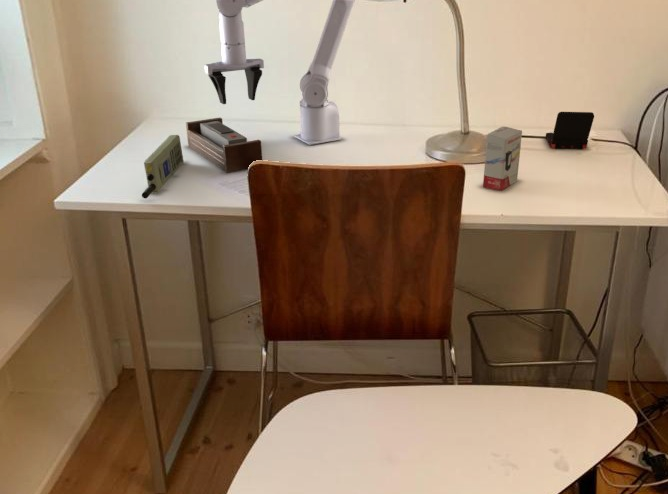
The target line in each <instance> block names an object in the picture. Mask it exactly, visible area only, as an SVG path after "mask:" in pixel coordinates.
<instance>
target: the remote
mask: <svg viewBox="0 0 668 494" xmlns="http://www.w3.org/2000/svg"><path fill="white" fill-rule="evenodd" d="M200 127H201V135H202V136H203V137H205V138H206V139H208V140H210V141H211V142H213V143H214V144H216V145H218V146H219V147H221V148H222V149H223V146H224V145H230V144H236V143H242V142H248V138H247V137H246V136H245V135H243V134H241V133H239V132H238V131H236V130H234V129H232V128H230V127H229V126H228V125H225V124H224V123H223V124H222V123H220V122H219V121H214V122H207V123H201V124H200Z"/></svg>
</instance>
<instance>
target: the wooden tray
mask: <svg viewBox="0 0 668 494" xmlns="http://www.w3.org/2000/svg"><path fill="white" fill-rule="evenodd" d="M214 121H219V122H220V123H222V124H224V123H223V118H222V117H214V118H207V119H199V120H194V121H186V122H185V129H186V136H187V146H188V148H189V149H191V150H192V151H194V152H196V153H197V154H198V155H200V156H201V157H203V158H204V159H206V160H207V161H209V162H210V163H212V164H213V165H214V166H216V167H218V168H219V169H220V170H222V171H224V172H225V173H226V174H228V173H235V172H240V171H246V170H249V169H248V167H249V165H250V164H251V163H252V162H253V161H256V160H262V161H263V149H262V146H263V145H262V140H260V139H254V140H247V142H242V143H236V144H230V145H224V146H223V149H222V148H221V147H219V146H218V145H216V144H214V143H213V142H211V141H210V140H208V139H206V138H205V137H203V136H202V135H201V127H200V124H201V123H207V122H214Z"/></svg>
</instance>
